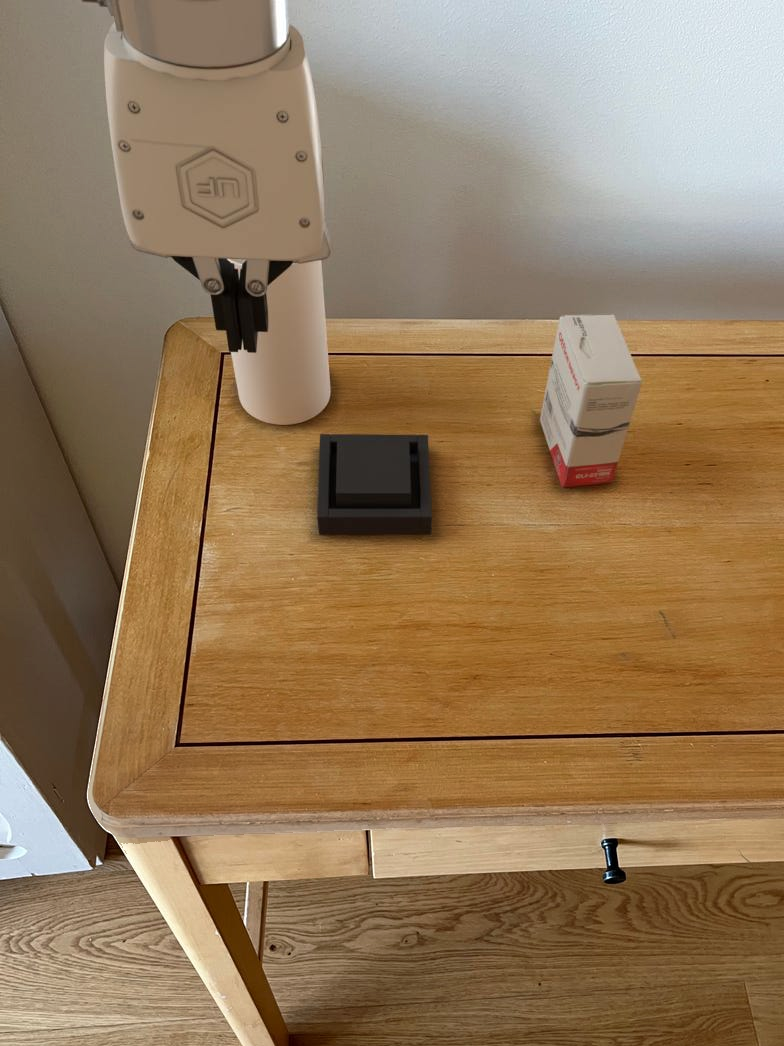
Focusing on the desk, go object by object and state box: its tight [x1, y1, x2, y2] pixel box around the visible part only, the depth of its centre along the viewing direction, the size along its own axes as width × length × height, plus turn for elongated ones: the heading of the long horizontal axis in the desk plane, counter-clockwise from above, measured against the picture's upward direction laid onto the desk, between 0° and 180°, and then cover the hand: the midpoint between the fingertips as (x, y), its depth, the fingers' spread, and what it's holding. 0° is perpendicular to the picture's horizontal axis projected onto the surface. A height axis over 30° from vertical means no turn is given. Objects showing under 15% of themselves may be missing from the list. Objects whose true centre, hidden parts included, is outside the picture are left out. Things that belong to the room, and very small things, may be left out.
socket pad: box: [316, 433, 433, 536], centre depth 81 cm, size 9×9×2 cm
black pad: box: [336, 439, 411, 509], centre depth 80 cm, size 6×6×3 cm
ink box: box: [539, 313, 643, 488], centre depth 81 cm, size 8×5×12 cm, turn 11°
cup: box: [227, 259, 331, 426], centre depth 81 cm, size 8×8×16 cm
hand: (244, 336), depth 58 cm, fingers closed
